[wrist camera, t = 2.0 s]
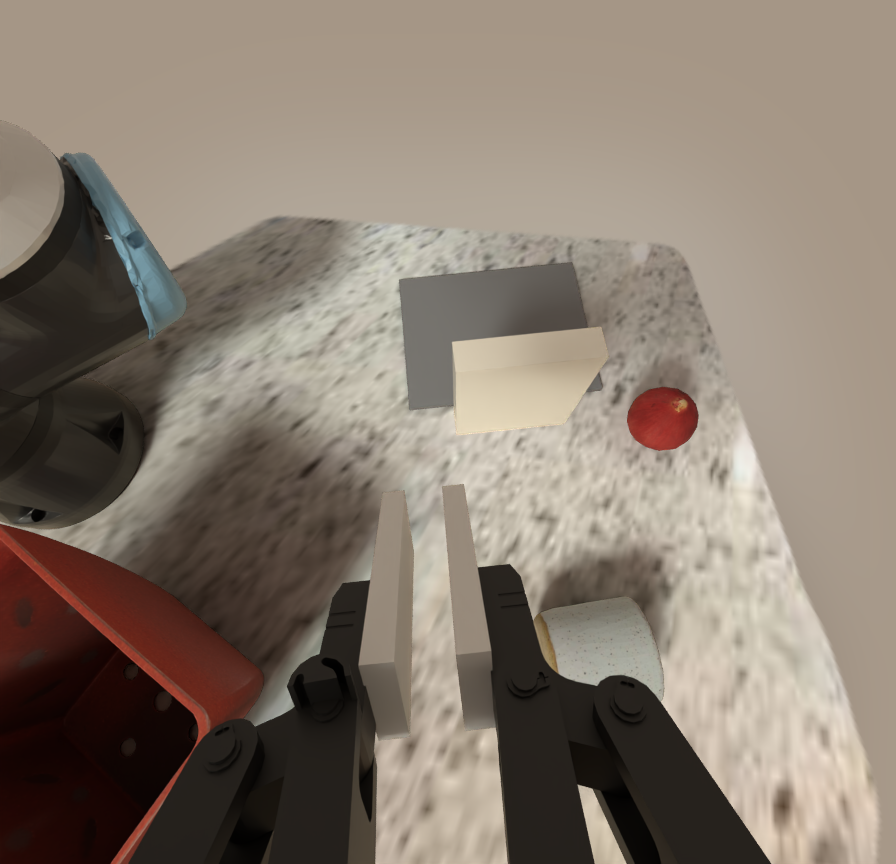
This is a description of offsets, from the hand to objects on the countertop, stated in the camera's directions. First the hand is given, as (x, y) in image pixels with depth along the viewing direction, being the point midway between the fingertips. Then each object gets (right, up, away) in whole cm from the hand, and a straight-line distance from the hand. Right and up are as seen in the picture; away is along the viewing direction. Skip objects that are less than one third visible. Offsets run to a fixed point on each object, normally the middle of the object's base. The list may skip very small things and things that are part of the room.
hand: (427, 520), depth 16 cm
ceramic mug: (+13, -17, +22) cm, 30 cm away
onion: (+21, +3, +28) cm, 35 cm away
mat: (+6, +14, +32) cm, 36 cm away
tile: (+7, +5, +29) cm, 30 cm away
